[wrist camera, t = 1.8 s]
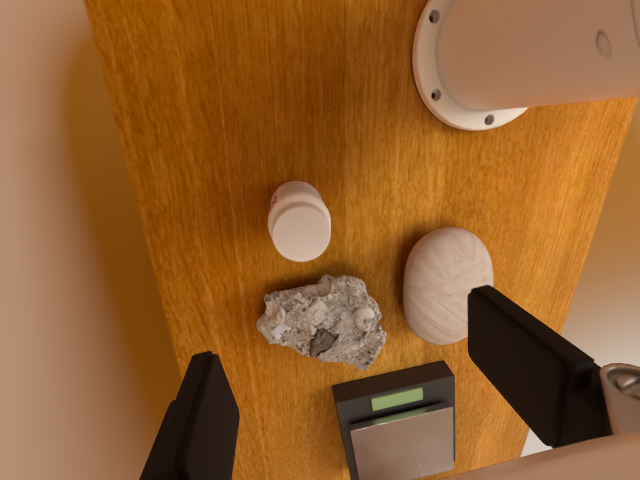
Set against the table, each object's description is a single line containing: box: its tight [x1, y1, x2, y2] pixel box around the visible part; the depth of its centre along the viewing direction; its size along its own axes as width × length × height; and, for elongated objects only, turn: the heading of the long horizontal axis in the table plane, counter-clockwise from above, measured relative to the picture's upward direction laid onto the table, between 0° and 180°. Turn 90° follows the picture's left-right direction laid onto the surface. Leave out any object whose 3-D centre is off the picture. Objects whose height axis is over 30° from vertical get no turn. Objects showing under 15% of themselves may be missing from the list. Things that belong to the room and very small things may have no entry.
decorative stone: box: [403, 227, 493, 345], centre depth 30 cm, size 13×9×5 cm
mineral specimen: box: [256, 274, 387, 370], centre depth 29 cm, size 6×11×12 cm
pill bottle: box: [268, 181, 331, 262], centre depth 24 cm, size 5×5×8 cm
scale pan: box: [349, 401, 454, 480], centre depth 36 cm, size 11×12×1 cm
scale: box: [332, 360, 455, 480], centre depth 38 cm, size 15×14×3 cm
